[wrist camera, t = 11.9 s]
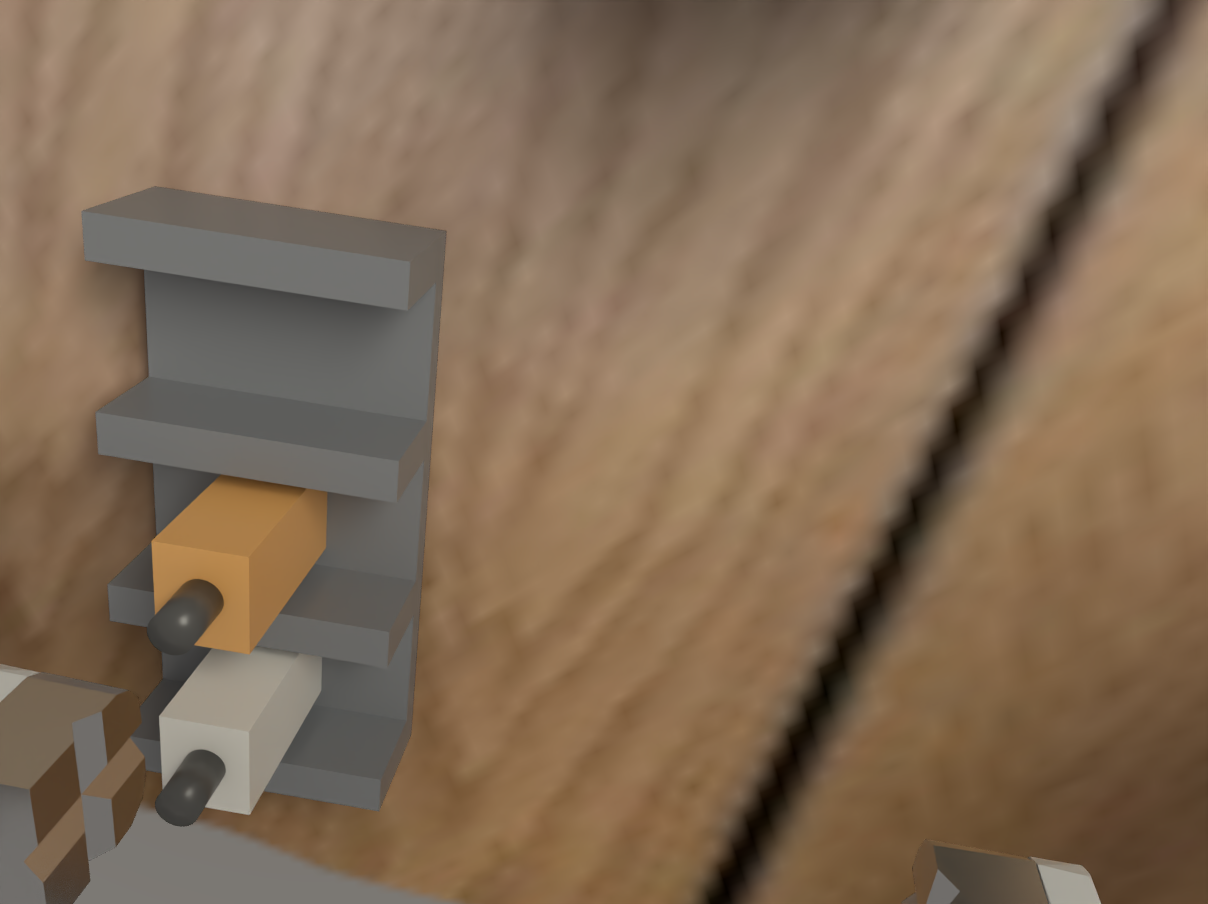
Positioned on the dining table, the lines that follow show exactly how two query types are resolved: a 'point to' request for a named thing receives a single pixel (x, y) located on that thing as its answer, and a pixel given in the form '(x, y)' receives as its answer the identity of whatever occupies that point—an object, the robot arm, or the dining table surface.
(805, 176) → the dining table surface
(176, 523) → the orange plug
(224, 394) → the rack
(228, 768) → the white plug
